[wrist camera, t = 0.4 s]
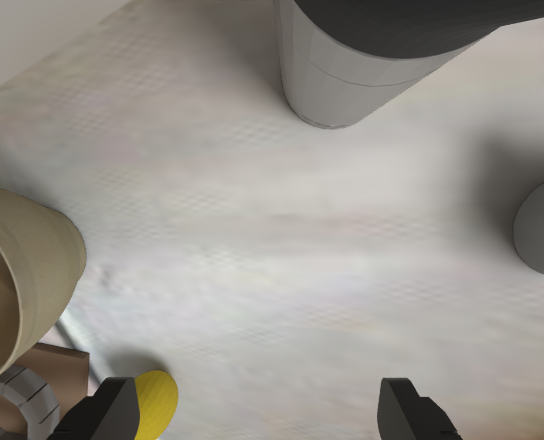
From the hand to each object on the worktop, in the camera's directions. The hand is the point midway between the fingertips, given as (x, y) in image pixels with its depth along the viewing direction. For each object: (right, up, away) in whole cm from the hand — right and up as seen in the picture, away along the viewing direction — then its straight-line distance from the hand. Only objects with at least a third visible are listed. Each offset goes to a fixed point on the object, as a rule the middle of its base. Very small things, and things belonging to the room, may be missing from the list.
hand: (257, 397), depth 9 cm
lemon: (-12, -12, +23) cm, 29 cm away
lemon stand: (-30, -16, +25) cm, 42 cm away
